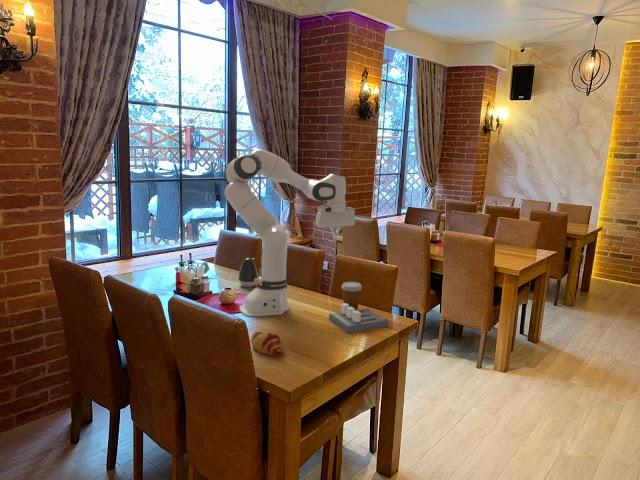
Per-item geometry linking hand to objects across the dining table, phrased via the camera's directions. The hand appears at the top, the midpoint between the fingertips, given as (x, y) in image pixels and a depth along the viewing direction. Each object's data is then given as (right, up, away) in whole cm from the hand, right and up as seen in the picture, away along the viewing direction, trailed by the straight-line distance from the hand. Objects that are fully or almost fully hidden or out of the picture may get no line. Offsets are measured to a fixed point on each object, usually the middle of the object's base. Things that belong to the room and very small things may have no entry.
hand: (335, 235), depth 234 cm
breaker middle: (+5, -35, -32) cm, 47 cm away
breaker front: (+8, -36, -36) cm, 51 cm away
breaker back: (+3, -34, -27) cm, 44 cm away
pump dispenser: (-45, -27, +20) cm, 56 cm away
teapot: (-78, -24, +28) cm, 86 cm away
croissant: (-27, -43, -57) cm, 76 cm away
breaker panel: (+9, -38, -29) cm, 49 cm away
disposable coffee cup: (+7, -35, -12) cm, 37 cm away
